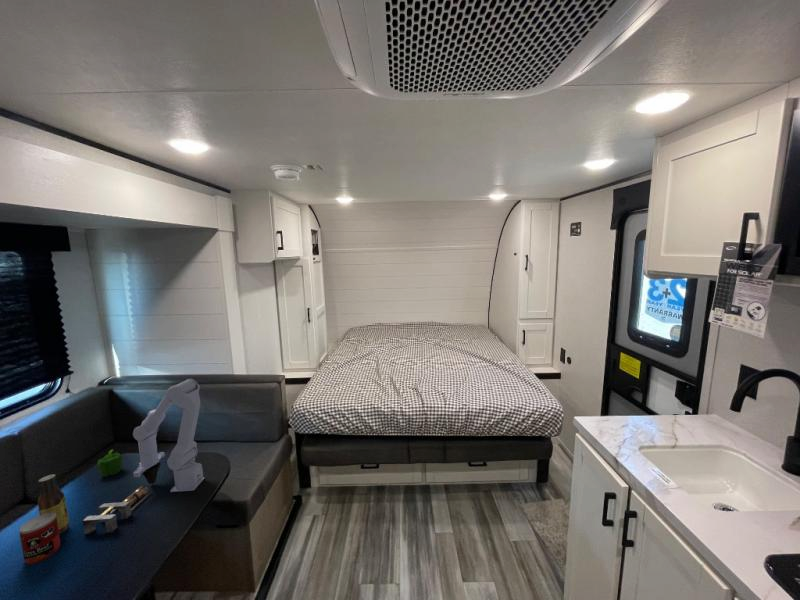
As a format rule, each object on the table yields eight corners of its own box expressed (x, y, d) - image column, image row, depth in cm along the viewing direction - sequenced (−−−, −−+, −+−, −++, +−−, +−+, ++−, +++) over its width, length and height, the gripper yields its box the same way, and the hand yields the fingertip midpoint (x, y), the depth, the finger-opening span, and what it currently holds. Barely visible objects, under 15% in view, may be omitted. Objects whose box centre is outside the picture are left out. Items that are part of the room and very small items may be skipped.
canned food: (18, 569, 96) (12, 535, 95) (33, 549, 103) (28, 517, 102) (53, 558, 100) (48, 525, 99) (65, 539, 107) (60, 508, 106)
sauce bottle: (73, 527, 112) (65, 473, 110) (49, 541, 106) (40, 485, 104) (62, 523, 114) (54, 470, 112) (38, 536, 108) (29, 481, 107)
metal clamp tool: (155, 492, 129) (154, 480, 128) (112, 532, 109) (110, 518, 108) (131, 493, 128) (130, 482, 128) (84, 534, 108) (82, 520, 108)
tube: (138, 492, 128) (139, 485, 128) (147, 494, 128) (148, 486, 128) (117, 511, 118) (118, 502, 118) (126, 513, 118) (127, 504, 118)
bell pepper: (112, 479, 139) (109, 457, 138) (94, 479, 139) (91, 457, 138) (129, 467, 147) (126, 446, 146) (111, 467, 147) (109, 447, 146)
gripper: (151, 443, 139) (155, 472, 140) (124, 462, 125) (128, 495, 126) (168, 442, 139) (171, 471, 141) (142, 461, 125) (146, 494, 126)
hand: (152, 482), depth 133 cm, fingers closed
